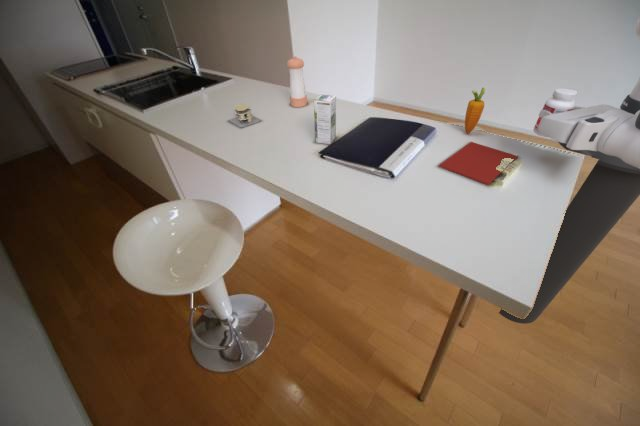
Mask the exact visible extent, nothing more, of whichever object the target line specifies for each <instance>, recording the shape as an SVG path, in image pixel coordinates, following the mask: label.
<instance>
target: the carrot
mask: <svg viewBox="0 0 640 426" xmlns="http://www.w3.org/2000/svg"><path fill="white" fill-rule="evenodd" d="M485 91H486V88H485V87H482V88H481V90H480V93H478V91H477V90H472V91H471V93H472V94H473V96H474V99H470V100H469V101H468V104H467V107H466V111H465V117H464V130H465V134H466V135H469V134H471V132H473V130H474V129H475V128H476V126H477V125H478V123H479V121H480V119H481V116H482V115H483V111H484V108H485V101H483V100H482V98H483V96H484V95H485V93H486V92H485Z"/></svg>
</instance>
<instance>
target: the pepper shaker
mask: <svg viewBox="0 0 640 426" xmlns="http://www.w3.org/2000/svg"><path fill="white" fill-rule="evenodd" d="M286 63H287V64H286V66H287V68H288V71H289V79H290V80H289V92H290V96H289V99H290V106H291V107H293V108H301V107H306V106H307V105H308V98H307V97H308V96H307V94H306V84H305V80H304V71H303V67H304V66H305V62H304V60H303V59H302V58H299V57H297V55H296V56H295V55H293V57H291V58H290V59H288V60H287V62H286Z"/></svg>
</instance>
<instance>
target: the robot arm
mask: <svg viewBox="0 0 640 426" xmlns="http://www.w3.org/2000/svg"><path fill="white" fill-rule="evenodd" d="M635 34H636V37H637V38H638V40H640V16H638V18H637V21H636V24H635ZM539 117H541V118H542V119H541V121H540V123H539V126H538V131H539V132H540V133H542V134H543V135H545V136H547V137H546V138H550V139H551V140H554V141H556V142H557V143H558V142H561V143H567V145H566V147H567V148H569V149H572V150H591V151H599V152H602V153H604V154H606V155H610V156H616V157H618V158H620V159H622V160H623V161H624V162H625V163H627V164H629V165H632V166H634V167H636V168H639V169H640V77H639V78H638V80H637V82H636V83H635V85H634V88H633V89H632V90H631V92H630V93H629V94H627V95H626V96H625V98H624V99H623V101H622V103H621V105H620V106H619V107H615V106H613V105H609V104H603V103H602V104H597V105H591V106H587V107H585V106H577V105H575V107H574V109H573V110H571V111H566V112H561V113H556V114H555V113H554V114H552V113H551V111H550V110H548V109H545V110H542V109H541V110H540V111H539V113H538V118H539Z"/></svg>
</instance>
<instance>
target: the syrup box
mask: <svg viewBox="0 0 640 426" xmlns="http://www.w3.org/2000/svg"><path fill="white" fill-rule="evenodd" d="M336 110H337V96H336V95H332V94H319V95H318V96H316V98H315V99H314V100H313V116H314V117H313V118H314V142H315V143H317V144H325V145H326V144H327V145H331V144H333V142H334V140H335V139H336V137H337V136H336V134H337V131H336V127H337V124H336V123H337V111H336Z"/></svg>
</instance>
